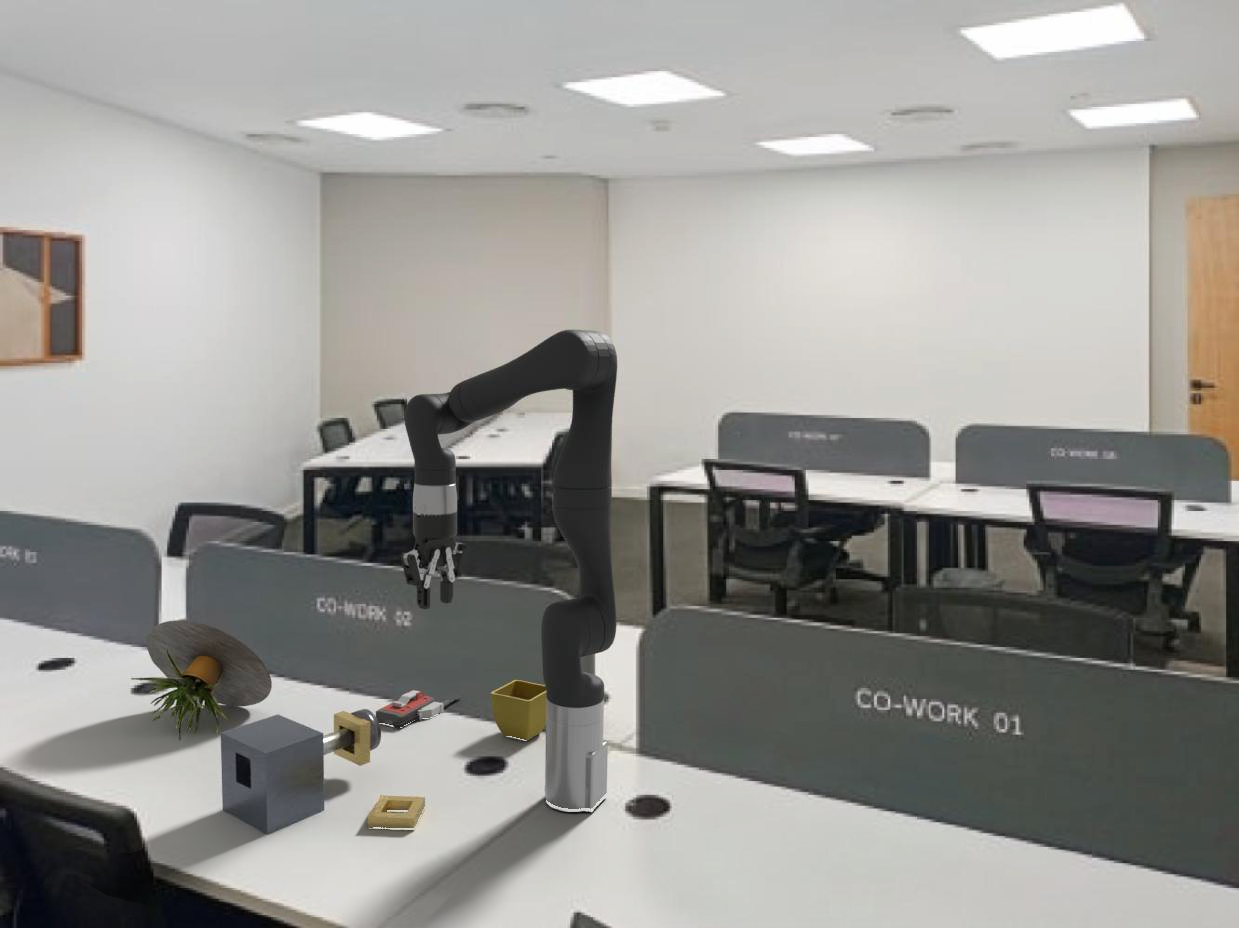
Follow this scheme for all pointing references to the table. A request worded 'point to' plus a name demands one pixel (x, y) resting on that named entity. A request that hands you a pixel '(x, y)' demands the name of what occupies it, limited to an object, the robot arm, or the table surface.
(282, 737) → the bearing block
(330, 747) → the shaft
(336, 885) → the table surface
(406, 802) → the frame
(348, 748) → the spacer
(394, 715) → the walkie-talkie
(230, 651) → the potted plant
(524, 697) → the flower pot
